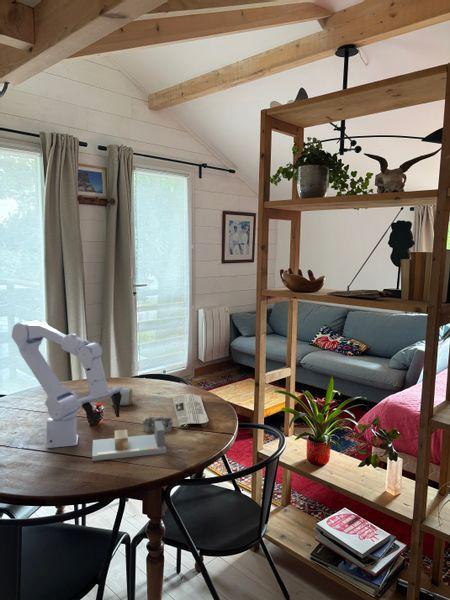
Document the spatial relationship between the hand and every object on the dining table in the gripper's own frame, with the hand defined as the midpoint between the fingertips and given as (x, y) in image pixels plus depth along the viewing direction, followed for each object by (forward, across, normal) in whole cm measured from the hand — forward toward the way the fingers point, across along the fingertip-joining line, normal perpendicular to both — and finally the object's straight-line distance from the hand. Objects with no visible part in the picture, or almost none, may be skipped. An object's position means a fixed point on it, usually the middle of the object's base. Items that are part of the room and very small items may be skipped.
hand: (106, 420), depth 142 cm
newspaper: (+13, +37, +21) cm, 45 cm away
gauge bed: (+11, +5, 0) cm, 12 cm away
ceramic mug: (+5, +16, +42) cm, 46 cm away
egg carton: (+12, +20, +12) cm, 26 cm away
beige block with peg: (+9, +3, -1) cm, 10 cm away
